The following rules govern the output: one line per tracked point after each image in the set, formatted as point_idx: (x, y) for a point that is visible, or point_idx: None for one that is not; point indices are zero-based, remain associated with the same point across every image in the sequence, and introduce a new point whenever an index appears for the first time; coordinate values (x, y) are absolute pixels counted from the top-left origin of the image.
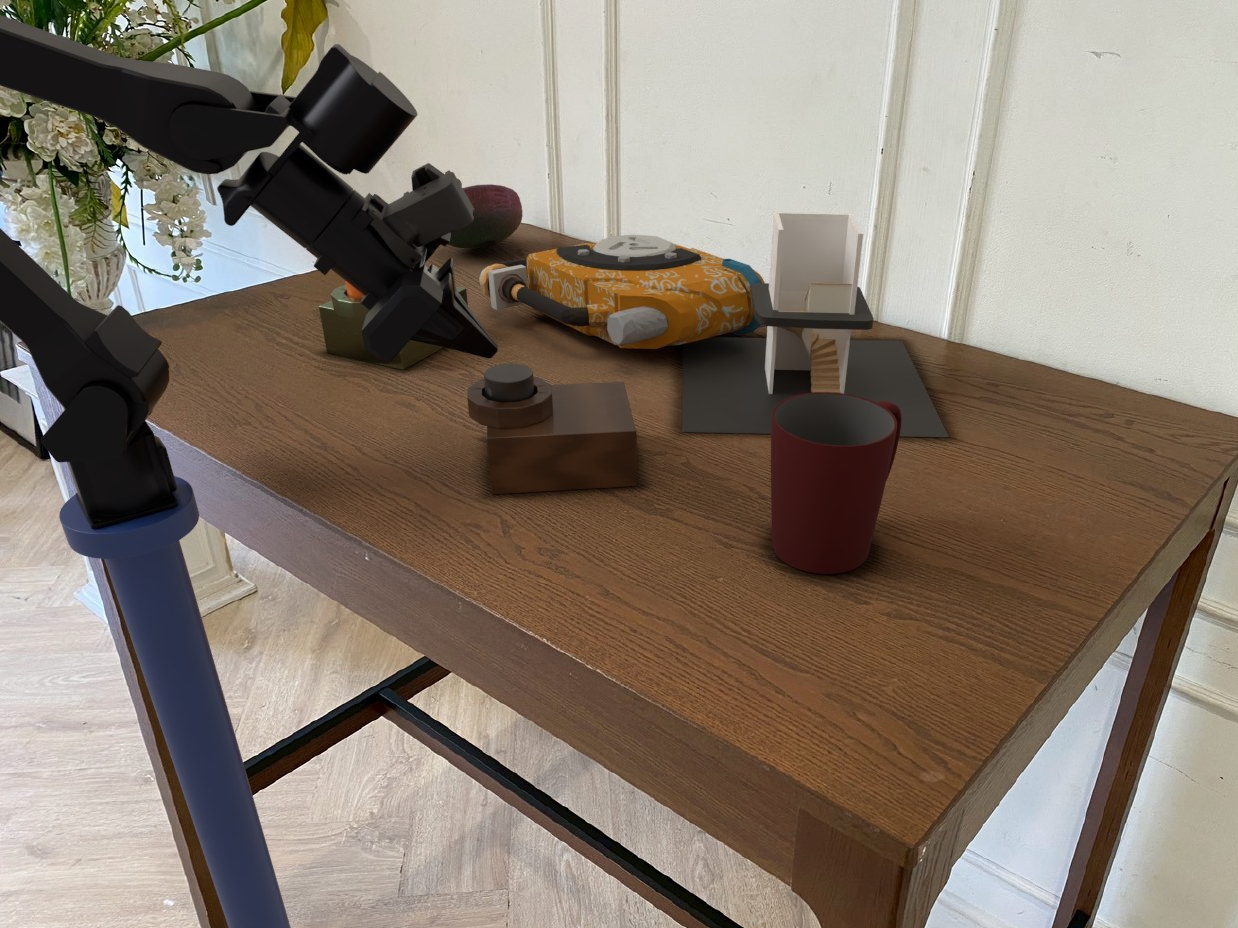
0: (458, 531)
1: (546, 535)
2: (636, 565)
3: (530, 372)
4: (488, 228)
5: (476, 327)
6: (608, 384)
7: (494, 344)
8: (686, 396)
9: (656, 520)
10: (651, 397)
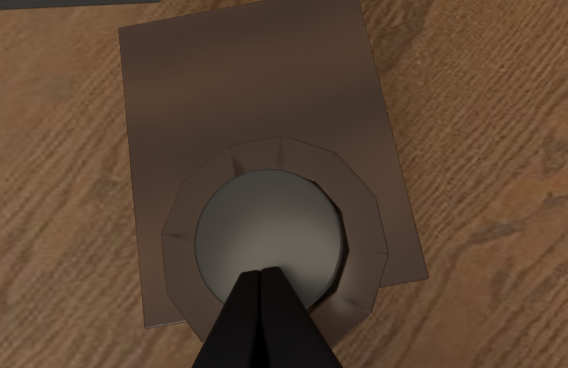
0: (519, 309)
1: (506, 166)
2: (563, 35)
3: (261, 175)
4: None
5: (332, 365)
6: (133, 55)
7: (271, 278)
8: (28, 1)
9: (438, 19)
10: (26, 55)
